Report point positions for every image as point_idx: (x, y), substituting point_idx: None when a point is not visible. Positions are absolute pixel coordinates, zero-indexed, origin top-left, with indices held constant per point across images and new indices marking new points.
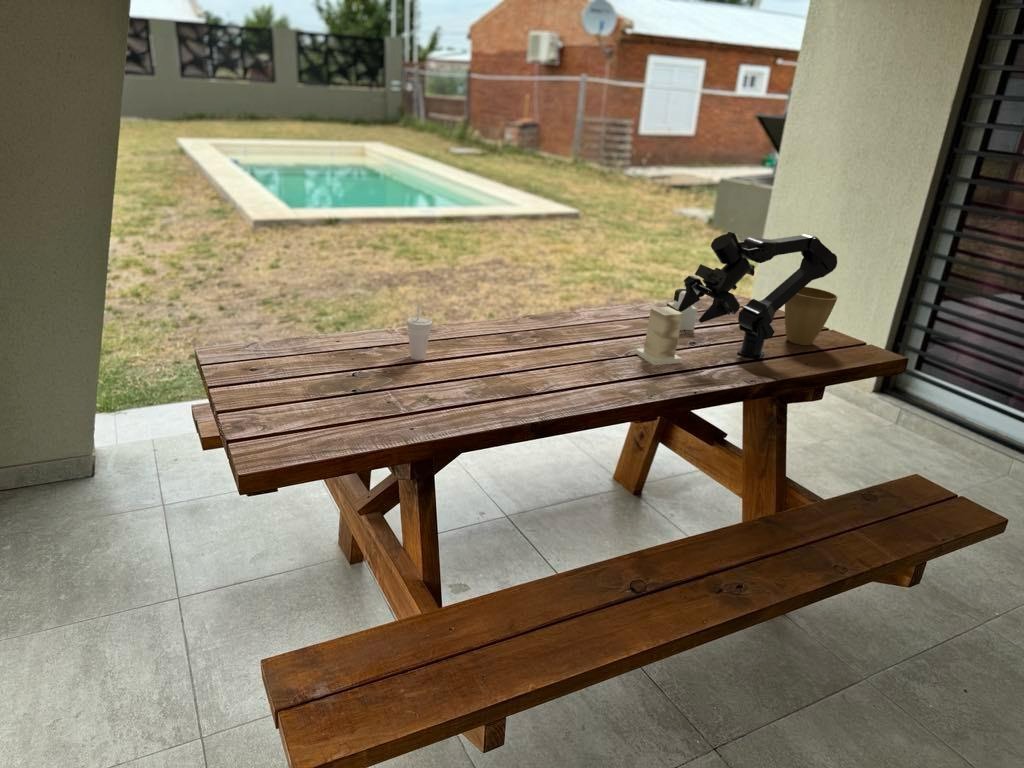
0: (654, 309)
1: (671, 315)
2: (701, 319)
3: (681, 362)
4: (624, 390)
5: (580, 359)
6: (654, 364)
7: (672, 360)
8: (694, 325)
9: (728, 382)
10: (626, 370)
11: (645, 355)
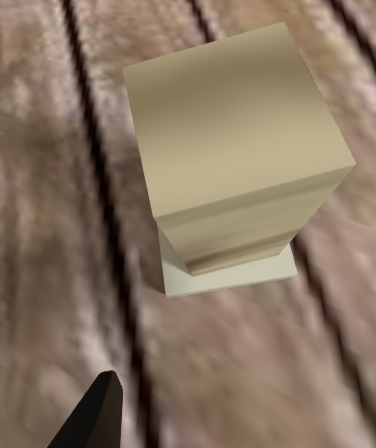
0: (255, 36)
1: (132, 116)
2: (91, 392)
3: (168, 297)
4: (30, 72)
5: (227, 28)
6: None
7: (161, 252)
8: None
9: (3, 410)
10: None
11: None
